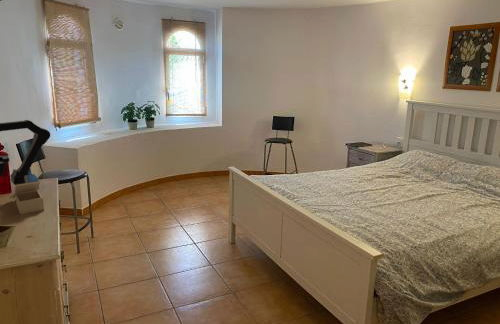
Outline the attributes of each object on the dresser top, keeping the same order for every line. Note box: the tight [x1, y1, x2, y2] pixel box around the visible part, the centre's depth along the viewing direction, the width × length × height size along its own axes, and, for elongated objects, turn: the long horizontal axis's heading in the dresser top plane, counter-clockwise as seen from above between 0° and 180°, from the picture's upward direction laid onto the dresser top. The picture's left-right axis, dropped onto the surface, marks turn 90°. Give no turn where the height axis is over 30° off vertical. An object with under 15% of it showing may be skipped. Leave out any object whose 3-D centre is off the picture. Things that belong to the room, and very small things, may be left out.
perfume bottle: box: [28, 168, 40, 190], centre depth 210 cm, size 6×6×12 cm
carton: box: [14, 189, 45, 216], centre depth 183 cm, size 14×10×6 cm
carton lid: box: [14, 175, 41, 195], centre depth 182 cm, size 14×10×5 cm
